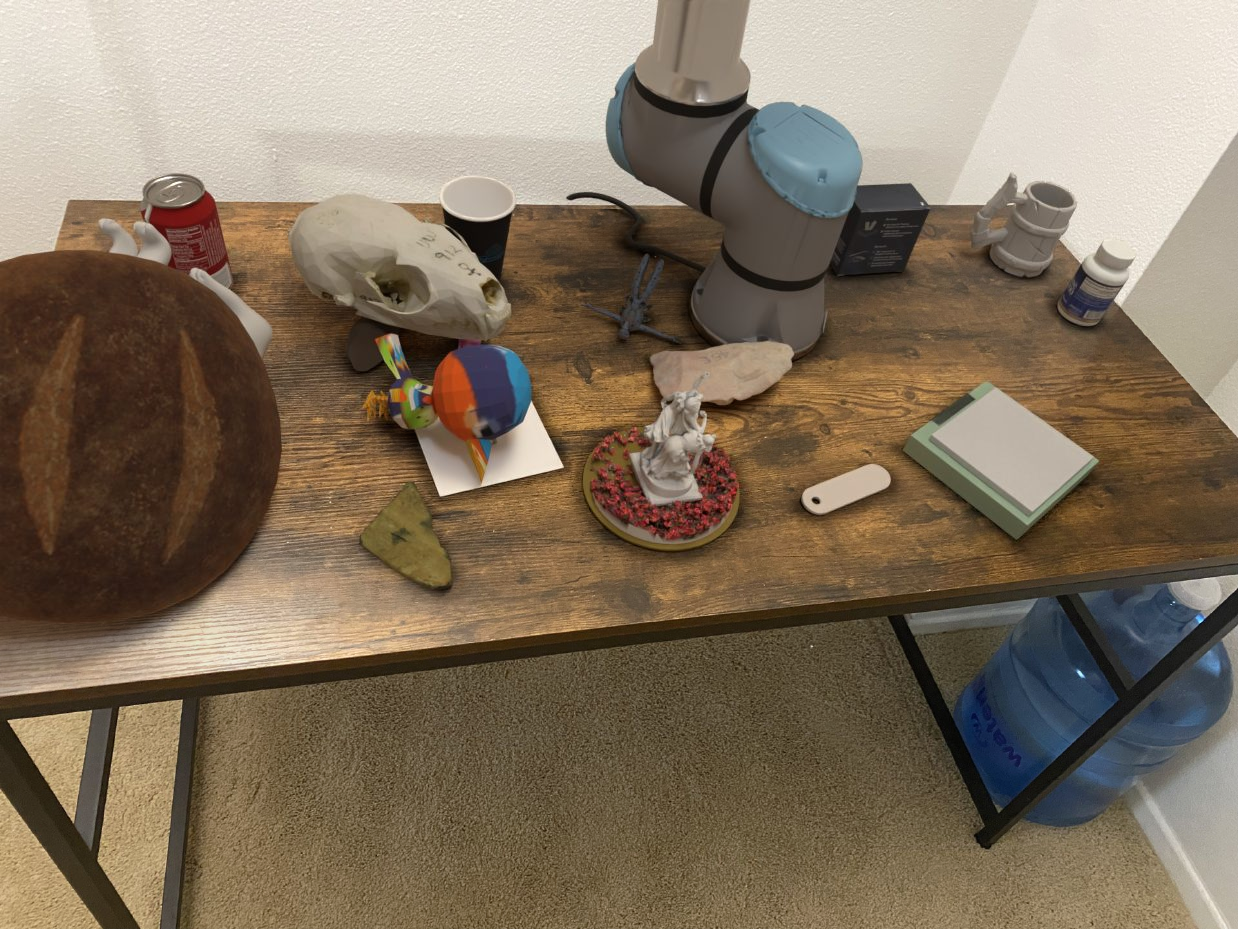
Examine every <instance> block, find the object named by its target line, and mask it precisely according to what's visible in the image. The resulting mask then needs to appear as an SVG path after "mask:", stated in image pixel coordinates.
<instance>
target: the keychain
mask: <svg viewBox="0 0 1238 929" xmlns="http://www.w3.org/2000/svg"><path fill="white" fill-rule="evenodd" d="M891 480H892V478H891V475H890V473H889V471H888V470H887V469H885V468H884V467H883V466H881V465H879V464H875V463H869V464H866V465H863V466H861V467H858V468H855V469H853V470H849V471H847V472H845V473H843V474H840V475H838V476H835V477H832V478H829V479H828V480H825V481H822V482H819V483H817V484H815V485H812V486H810V487H807V488H806V489H805V490H804V491H803V492H802V494H801V498H800V500H801V503H802V505H803V507H804V508H805V510H807V511H808V512H810V513H811V514H814V515H816V516H817V515H819V516H822V515H827V514H828V513H829V514H830V513H831V512H834V511H836V510H839V509H842V508H843V507H846V506H848V505H850V504H853V503H855V502H858V501H861V500H863V499H865V498H867V497H870V496H873V495H875V494H877V493H881V492H883V491H885V490H886V489H887V488H888V487H889V486H890V485H891ZM813 499H816V500H817V501H818V502H819V503H817V504H816V503H815V502H813Z"/></svg>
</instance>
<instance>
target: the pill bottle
mask: <svg viewBox="0 0 1238 929" xmlns="http://www.w3.org/2000/svg"><path fill="white" fill-rule="evenodd" d="M1136 257H1137V251H1136V250H1135V248H1134V247H1133V246H1132V245H1130V244H1128V243H1127V242H1125V241H1123V240H1121V239H1117V238H1106V239H1104V240H1103V241H1102V242H1101V243H1100V244H1099V246H1098V248H1097V250H1096V252H1092V253H1090V254H1088V255H1087V256H1085V257H1084V259H1083V261H1081V264H1080V265H1079V267H1078V269H1077V270H1076V272H1075V273H1074V275H1073V276H1072V278H1071V280H1070V281H1069V283H1068V285H1067V286H1066V288H1065V290H1064V291H1063V293H1062V294H1061V296H1060V298H1059V299H1058V302H1057V309H1058V312H1059V314H1060V315H1061V316H1062V317H1063V318H1064V319H1066V320H1067V321H1069V322H1071V323H1072V324H1075V325H1077V326H1082V327H1092V326H1096V325H1097V324H1099V323H1100V321H1101V320H1102V318H1103V317H1104V315H1105V314H1106V312H1107V311H1108V309H1109V308H1110V307H1111V305H1112V304H1113V302H1114V301H1115V299H1116V298H1117V296H1118V295H1119V294H1120V292H1121V291H1122V289H1123V288H1124V287H1125V284H1126V283H1127V282H1128V280H1129V279H1130V275H1131V272H1130V268H1129V267H1130V266H1132V264H1133V262H1134V260H1135V259H1136Z"/></svg>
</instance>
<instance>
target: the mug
mask: <svg viewBox="0 0 1238 929" xmlns="http://www.w3.org/2000/svg"><path fill="white" fill-rule="evenodd" d="M1017 177H1018V176H1017V174H1015V173H1013V171H1012V172H1010V173H1009V175H1008V177H1007V179H1006V181H1005V182H1004V183H1003V185H1002V186H1001V187H1000V188H998V189H997V191H996V193H995V194H994V195H993V196H992V197H991V198H990V199H989V200H988V201H987V202H986V204H985V205H984V206H982V208H981V209H980V210H979V211H977V212H976V213H975V215H974V218H973V224H972V225H971V227H970V231H969V241H970V248H971V250H972V251H978V250H981V249H982V248H984V247H985V246H988V245H990V244H991V247H990V250H989V257H990V259H991V261H992V262H993V264H994V265H995V266H997V267H998V268H999V269H1000V270H1001V269H1002V270H1003V271H1004V272H1005V273H1008V274H1011V275H1013V276H1016V277H1019V278H1022V277H1027V278H1032V277H1037V276H1039V275H1041V274H1042V273H1043V271H1044V270H1045V269H1047V268H1048V266H1049V265H1050V264H1051V262H1052V261H1053V257H1054V255H1053V252H1054V250H1055V248H1056V247H1057V245H1058V243H1059V241H1060V239H1061V237H1062V236H1063V235H1065V233H1066V232H1067V230H1068V229H1069V226H1070V220H1071V218H1072V216H1073V214H1074V212H1075V210H1076V209H1077V206H1078V201H1077V199H1076V197H1075V195H1074V194H1073V193H1072V192H1071V191H1070V190H1069V189H1067V188H1066V187H1064V186H1061V185H1060V184H1057V183H1055V182H1052V181H1044V180H1035V181H1031V182H1029V183H1028V184H1026V187H1025V188H1024V190H1023V192H1018V188H1019V186H1018V178H1017ZM1009 204H1013V205H1012V207H1011V209H1010V214H1009V216H1008V218H1007V219H1006V221H1005V223H1004V225H1003V227H1002V228H996V229H992V230H990V223H991V222H992V219H993V216H995V214H997V213H998V212H1000V211H1001V210H1003V209H1004V208H1005V207H1007V206H1008V205H1009Z"/></svg>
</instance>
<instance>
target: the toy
mask: <svg viewBox="0 0 1238 929" xmlns="http://www.w3.org/2000/svg"><path fill="white" fill-rule="evenodd" d="M375 340H376V343H377V345H378V347H379V349H380V352H381V354H382V356H383V359H382V360H383V361H384V363H385V365H387V367H388V368H389V370H390V371H391V373H392V374H393V375H394V377H395V379H396V380H395V381H394V382H393V384H392V385H391V386H390V388H389V389H388V394H387V395H385V393H384V392H383V391H382V390H380V395H378V394H375V393H374V391H373V389H371V390H370V391H369V393H368V395H367V396H366V400H365V401H364V403H363V405H362V407H361V410H365V409H367V414H366V415H367V416H366V420H367V423H368V422H369V420H370V418H371V416H372V414H373V417H374V418H375V420H376V419H377V418H376V405H377V404H379V406H378V412H379V413H378V419H380V418H381V416H382V415H384V418H385V420H386V421H388V417H389V414H390V417H391V419H392V420H393V421H395V422H396V424H397V425H399V426H400V428H402V429H405V430H415V429H419V428H426V427H428V426H430V425H431V424H433V423H434V422H435V421H436V419H437V418H438V417H439V419H440V421H441V422H442V424H443V425H444V426H445V428H446V429H448V430H449V431H450V432H451V433H453V434H454V435H455V436H457V437H458V438H459V439H461V440H463V441H465V442H466V444H467V447H468V450H469V453H470V456H471V458H472V461H473V463H474V465H475V467H476V470H477V472H478V474H479V478H480V482H481V484H482V480H483V477H484V474H485V470H486V467H487V464H488V461H489V456H490V451H491V446H492V441H493V439H495V438H497V437H500V436H502V435H504V434H506V433H507V432H509V431H511V430H512V429H514V428H515V427H516V426H518V425H519V424H521V423H522V422H523V421H524V418H525V416H526V413H527V411H528V408H529V406H530V403H531V401H532V389H533V388H532V383H531V378H530V374H529V370H528V369H527V367H526V366H525V364H524V363H523V361H522V360H521V358H520V357H519V355H518V354H517V353H516V352H515V351H513V350H511V349H508V348H506V347H503V346H500V345H496V344H495V345H494V344H480V345H472V346H466V347H463V348H460V349H458V348H457V349H454V350H452V351H450V352H449V353H448V354H447V355H446V356H445V357H444V358H443V360H442V361H441V362H440V363H439V364H438V366H437V368H436V370H435V373H434V378H433V383H432V384H433V385H429V384H424V383H422V382H420V381H418V380H417V379H416V378H414V377H413V374H412V372H411V370H410V368H409V366H408V364H407V360H406V358H405V355H404V353H403V351H402V350H403V349H402V346H401V342H400V339H399V335H395V334H388V335H385V336H382V337H379V338H377V339H375Z"/></svg>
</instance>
